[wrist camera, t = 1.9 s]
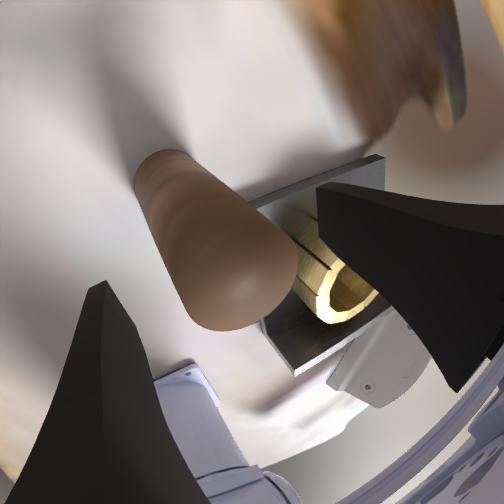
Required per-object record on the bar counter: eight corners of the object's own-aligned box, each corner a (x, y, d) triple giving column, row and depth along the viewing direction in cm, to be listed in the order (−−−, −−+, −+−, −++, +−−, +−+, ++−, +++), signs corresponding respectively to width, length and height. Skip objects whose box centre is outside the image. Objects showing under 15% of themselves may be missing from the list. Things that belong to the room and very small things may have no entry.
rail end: (147, 224, 16) (205, 348, 9) (124, 165, 14) (163, 261, 7) (206, 198, 17) (301, 297, 10) (190, 139, 14) (292, 204, 8)
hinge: (385, 283, 31) (457, 329, 26) (394, 275, 35) (459, 315, 30) (324, 385, 38) (381, 425, 33) (339, 370, 42) (391, 406, 36)
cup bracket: (262, 333, 25) (295, 376, 21) (231, 209, 18) (276, 251, 14) (369, 271, 28) (406, 300, 25) (375, 153, 21) (428, 176, 17)
